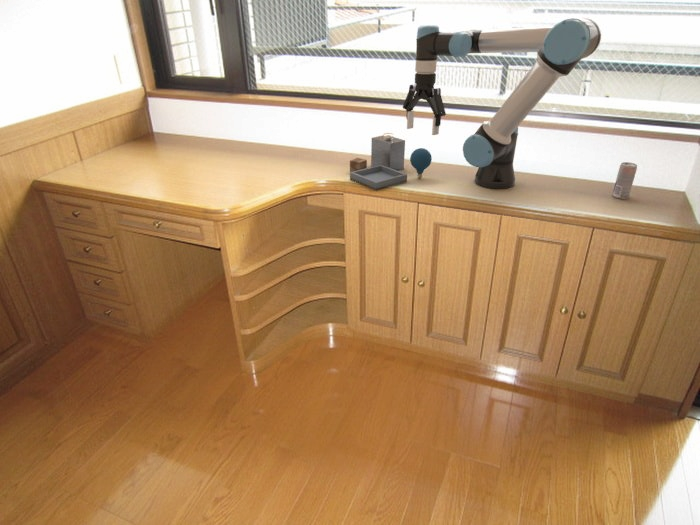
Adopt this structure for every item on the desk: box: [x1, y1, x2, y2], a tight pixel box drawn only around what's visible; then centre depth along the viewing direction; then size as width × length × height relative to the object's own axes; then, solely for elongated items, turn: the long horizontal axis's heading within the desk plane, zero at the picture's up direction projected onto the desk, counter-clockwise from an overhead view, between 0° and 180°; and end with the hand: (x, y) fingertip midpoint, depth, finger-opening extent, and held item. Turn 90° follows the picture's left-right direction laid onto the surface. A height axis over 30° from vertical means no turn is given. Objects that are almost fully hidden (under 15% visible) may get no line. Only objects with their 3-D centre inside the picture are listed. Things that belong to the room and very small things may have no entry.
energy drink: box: [612, 161, 638, 200], centre depth 174 cm, size 5×5×12 cm
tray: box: [349, 165, 408, 191], centre depth 193 cm, size 16×16×3 cm
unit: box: [370, 132, 406, 171], centre depth 206 cm, size 12×8×14 cm, turn 38°
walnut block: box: [349, 157, 368, 173], centre depth 203 cm, size 5×5×5 cm
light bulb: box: [409, 147, 433, 179], centre depth 193 cm, size 8×8×12 cm
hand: (422, 131), depth 188 cm, fingers open, 13 cm apart
